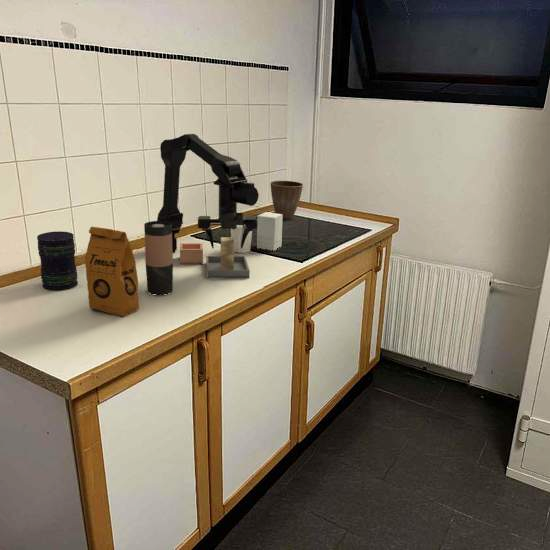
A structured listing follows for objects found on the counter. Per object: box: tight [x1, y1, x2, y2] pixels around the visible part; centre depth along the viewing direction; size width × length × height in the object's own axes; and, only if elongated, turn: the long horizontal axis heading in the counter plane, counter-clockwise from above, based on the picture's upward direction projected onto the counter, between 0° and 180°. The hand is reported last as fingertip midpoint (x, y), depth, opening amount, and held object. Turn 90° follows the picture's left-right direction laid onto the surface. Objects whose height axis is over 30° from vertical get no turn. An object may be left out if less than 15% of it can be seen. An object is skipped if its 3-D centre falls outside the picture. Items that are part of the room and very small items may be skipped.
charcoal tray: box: [205, 255, 251, 279], centre depth 175 cm, size 13×15×2 cm
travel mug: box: [143, 220, 174, 296], centre depth 152 cm, size 8×8×20 cm
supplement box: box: [256, 211, 283, 252], centre depth 200 cm, size 7×7×13 cm
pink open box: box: [179, 242, 204, 265], centre depth 182 cm, size 8×8×5 cm
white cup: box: [230, 225, 253, 254], centre depth 195 cm, size 8×8×10 cm
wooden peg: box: [220, 236, 235, 270], centre depth 173 cm, size 4×4×10 cm
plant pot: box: [269, 180, 304, 220], centre depth 246 cm, size 15×15×16 cm
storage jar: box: [36, 230, 79, 292], centre depth 154 cm, size 10×10×15 cm
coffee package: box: [84, 226, 140, 318], centre depth 138 cm, size 10×12×22 cm
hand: (227, 248), depth 173 cm, fingers open, 9 cm apart
